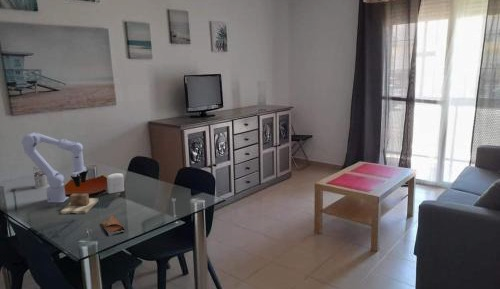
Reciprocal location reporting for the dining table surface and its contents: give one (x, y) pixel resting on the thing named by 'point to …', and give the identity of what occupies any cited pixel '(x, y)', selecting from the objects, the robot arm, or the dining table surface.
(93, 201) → the board
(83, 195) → the block
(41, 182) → the french press
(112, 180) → the photo printer
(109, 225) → the sunglasses case
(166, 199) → the dining table surface
